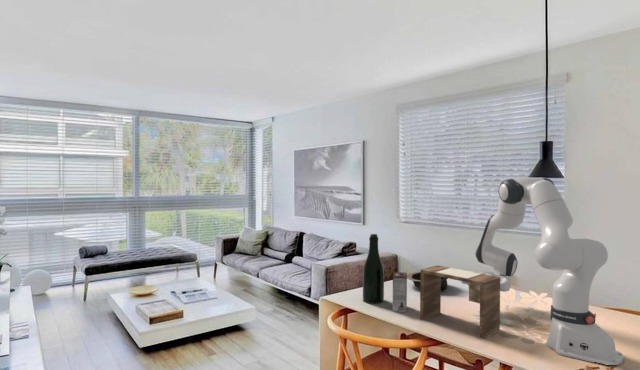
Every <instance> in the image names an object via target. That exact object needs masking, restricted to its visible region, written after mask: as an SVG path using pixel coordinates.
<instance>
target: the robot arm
mask: <svg viewBox="0 0 640 370" xmlns="http://www.w3.org/2000/svg"><path fill="white" fill-rule="evenodd" d="M498 196H499V201H498V205H497V211H496V213H495V214H492V215H490V217H489V218H488V220H487V222H486V225H485V226H484V227H485V228H484V230H483V233H482V236H481V239H480V242H479V244H478V246H477V247H476V251H475V254H474V255H475V258H476V259H477V262H479V263H480V264H483V265H487V266H489V267H492V269H489V270H486V271H483V272H482V273H483V274H486V275H491V276H497V277H500V292H509V291H510V288H511V282H512V281H513V279H514V275H515V273H516V271H517V269H518V264H519V263H518V259H517V257H516V255H515V253H513V252H511V251H508V250H506V249H503V248H501V247H497V246H494V244H492V241H493V239H494V236H495V233H496V232H497V231H498V230H513V229H515V228H516V229H517V227H519V226H521V224H522V223H523V222H524V219H525V214H526V207H527V205H530V206H531V209H532V211H533V213H534V216H535V218H536V220H537V223H538V225H539V229H540V235H541V236H540V237H541V238H540V241H539V243H538V244H537V245H536V247H535V250H534V257H535V260H536V263H538V265H539V266H540V267H541V268H543V269H546V270H551V271H556V272H557V271H563V272H562V274H561V276H560V277H559V278H558V279H557V280H555V281H554V283H553V285H552V304H551V305H550V328H549V329H550V330H549V333H548V338H547V340H546V345H547V346H548V347H550V348H551V349H553V350H554V351H555V352H556V353H557V354H558V355H561V356H565V357H569V358H574V359H577V360H582V361H586V362H591V363H594V362H597V363H596V364H598V363H604V364H608V365H617V366H619V365H621V364H622V363H623V362H624V359H625V358H624V356H625V355H624V354H623V353H622V352H621V351H619V350H617V349H616V345H615V344H616V343H615V340H614V339H613V337H612V335H610V334H609V333H608V332H606V331H605V330H604V329H603V328H601V326H599V325H598V324H597V323H596V317H597V313H593V312H591V310H589V309H590V307H589V306H590V292H591V286H592V283H593V281H594V278H595V277H596V274H597V273H598V271H599V270H600V269H601V268H602V267H603V266H604V265H605V264H606V263H607V261H608V258H609V254H608V250H607V248H606V245H604V244H603V243H602V242H601V241H599V240H595V239H589V238H571V237H570V236H569V231H568V230H569V229H570V228H571V226H572V225H573V222H574V219H573V216H572V214H571V212H570V210H569V208H568V206H567V204H566V202H565V200H564V198H563V196H562V195H561V193H560V192H559V190H558V188H557V187H556V186H555V183H554V182H553V180H552V179H551V178H547V177H543V176H542V177H541V176H539V177H524V176H523V177H517V178H508V179H505V180H503V181H501V182H500V184H499V186H498ZM460 282H461V284H464V285H467V286H468V287H469V283H468V282H463V281H460Z"/></svg>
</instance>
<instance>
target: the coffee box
mask: <svg viewBox="0 0 640 370" xmlns="http://www.w3.org/2000/svg"><path fill="white" fill-rule="evenodd" d="M407 275H408V273H407V272H396V271H393V273H392V312H396V311H399V313H406V312H407V305H408V304H407V299H408V297H407V296H408V289H407V288H408V279H407Z"/></svg>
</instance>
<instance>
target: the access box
mask: <svg viewBox="0 0 640 370" xmlns="http://www.w3.org/2000/svg"><path fill="white" fill-rule="evenodd" d="M420 271H421V274H420V288H419V289H420V292H419V293H420V294H419V319H420V320H426V319H429V318H431V317H433V316H436V315H439V314H440V313H441V305H442V304H441V301H442V299H441V296H442V294H441V293H442V292H441V291H442V290H441V277H444V278H448V279H450V280H453V281H458V282H459V281H460V282H461V281H463V282H468V283H473V284H477V285H480V303H479V339H486V338H488V337H489V336H491V335H494V334H495V333H497V332H499V331H500V329H501V328H500V327H501V323H500V322H501V291H500V277H497V276H491V275H486V274H481V273H482V272H478V273H476V272H477V271H469V270H465V269H459V268H454V267H448V266H444V265H434V266H430V267H426V268H423V269H420Z"/></svg>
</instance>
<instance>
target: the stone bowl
mask: <svg viewBox="0 0 640 370" xmlns="http://www.w3.org/2000/svg"><path fill="white" fill-rule="evenodd" d="M420 274H421V270H418V271H414V272H411V273H407V280H409V281H411V282H412V283H413V285H414V287H415V288H417V289H418V288H419V289H420ZM448 279H449V278H444V277H441V291H446V290H447V288H448Z"/></svg>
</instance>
